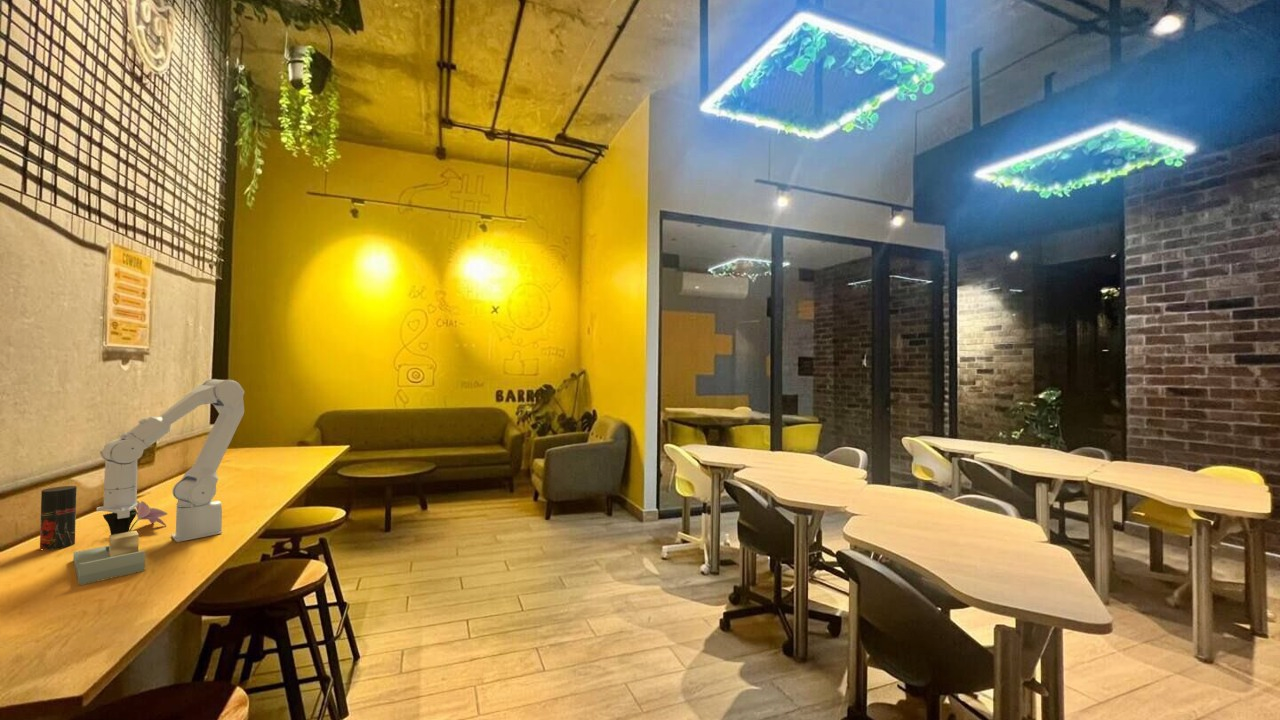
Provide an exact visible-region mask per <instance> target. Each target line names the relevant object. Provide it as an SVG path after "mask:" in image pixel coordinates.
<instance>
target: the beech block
mask: <svg viewBox="0 0 1280 720" xmlns="http://www.w3.org/2000/svg"><path fill="white" fill-rule="evenodd" d="M139 537H140V536H139V533H138V532H137V530H131V531H130V532H129V531H128V532H125V533H119V534H114V535H111V534H110V535H109V542H108V543H109V544H108V546H109V555H110V557H115V556H120V555H125V554H129V553H134V552H138V551H139V541H140V539H139Z"/></svg>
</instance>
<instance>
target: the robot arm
mask: <svg viewBox="0 0 1280 720" xmlns="http://www.w3.org/2000/svg"><path fill="white" fill-rule="evenodd" d="M244 395H245V390H244V388H243V387H242V385H241V384H240V383H239V382H238V381H236V380H233V379H217V378H211V379H207V380H205V381H204V382H203V383H202V384H199V385H198V386H196V387H195V388H193V389H192V390H191V391H190V392H189V393H188V394H186V395H185V396H184V397H182V398H181V399H180V400H178V401H177V402H176V403H174V404H173V405H172V406H170V407H169V408H168V409H167V410H165V411H164V412H162V413H161V414H160V415H158V416H148V417H147V418H141V419H140V420H138V421H137V422H138V424H137V425H136V426H133V428H131V429H129V431H127V432H122V433H121V434H119V435H118V436H119V438H117V439H113V440H111V441H108V442H107V443H106V444H105V445H104V446H103V448H102V451H100V457H101V458H102V459H103V460H104V461H105V464H104V467H105V468H104V479H103V481H104V483H103V484H104V485H103V486H104V487H103V506H98V507H96V511H97V512H108V513H105V514H103V515H102V516H103V519H104V520H105V522H106V523H107V525H108V529H109V532H110V535H114V534H119V533H125V532H129V530H130V528H131V525H132V523H133V521H134V519H135V518H136V516H137V513H136V510H137V509H136V506H137V505H138V502H137V501H138V500H137V499H138V498H137V495H138V492H137V491H138V460H139V459H140V458H142V456H143V454H144V451H145V450H146V449H148V448H150V447H151V446H152V445H153V444H154V443H156V442H158V441H159V440H160V439H162V438H163V437H164V436H165V435H166V434H169V433H170V431H171V425H172V424H175V423H176V422H177V421H179V420H180V419H182V418H183V417H184V416H186V415H187V414H189V413H191V412H192V411H193V410H195V409H196V408H198V407H200V406H202V405H209V404H211V405H213V407H214V408H215V411H217V413H218V416H217V417H216V420H215V422H214V423H213V426H212V428H211V430H210V432H209V434H208V436H207V437H206V440H205V442H204V444H203V446H202V448H201V450H200V452H199V454H198V456H197V457H196V460H195V461H194V464H193V466H192V467H190V469H188V470H187V471H186V472H185V473H184V475H183V476H182V478H181V479H180V480H178V481H177V482H176V483H175V484H174V486H173V488H172V495H173V497H174V498H175V499H176V500H177V502H176V507H175V509H176V513H175V514H176V515H175V523H176V524H175V533H171V537H172V539H174V541H175V542H176V543H181V542H185V541H189V540H190V541H191V540H196V539H200V538H201V539H202V538H205V537H211V536H215V535H221V534H222V533H223V531H222V523H223V521H222V520H223V519H222V518H223V510H222V509H223V507H222V502H221V501H220V500H213V499H214V497H215V496H216V494H217V483H218V481H219V477H218V473H217V472H218V471H217V470H218V469H219V466H220V464H221V462H222V460H223V458H224V456H225V454H226V451H227V450H228V448H229V445H230V444H231V442H232V439H233V437H234V435H235V433H236V431H237V430H238V429H237V428H238V427H239V424H240V423H241V420H242V419H243V417H244V414H245V403H244ZM133 508H135V509H136V510H135V509H133Z"/></svg>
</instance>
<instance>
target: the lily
mask: <svg viewBox="0 0 1280 720" xmlns="http://www.w3.org/2000/svg"><path fill="white" fill-rule="evenodd" d="M137 502H138V505H137V506H136V507H135V508H133V509H135V510H136V513H137V514H136V516H137V518H136V520H135V521H134V522H133V524H131V525H132V526H130V528H129V531H128V532H131V531H132V530H133V528H134V526H135V525H136V524H137V522H138V521H140V520H147V521H149V522H150V523H151V524H152V523H154V524H155V523H156V522H157V523H160V524H161V525H162V526H165V527H167V524H166V523H165V522H164V521H163V520H162V519H161V518H162V517H164V516H167V515H168V513H167V512H165V511H164V510H162V509H159V508H155V507H150V506H149V505H148V503H146V502H145V501H143V500H141V502H140V501H139V500H137Z"/></svg>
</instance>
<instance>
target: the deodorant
mask: <svg viewBox="0 0 1280 720" xmlns="http://www.w3.org/2000/svg"><path fill="white" fill-rule="evenodd" d="M40 493H41V496H40V497H41V499H40V500H41V501H40V504H41V505H40V527H39V529H40V530H39V531H40V532H39V533H40V534H39V536H40V539H39V550H40V549H43V550H45V551H55V550H60V549H65V548H69V547H71V546H73V545H75V544H76V524H77V523H76V521H77V520H76V517H77V485H76V486H75V485H63V486H56V487H50V488H45V489H42V490H41V492H40ZM43 550H42V551H43Z"/></svg>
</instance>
